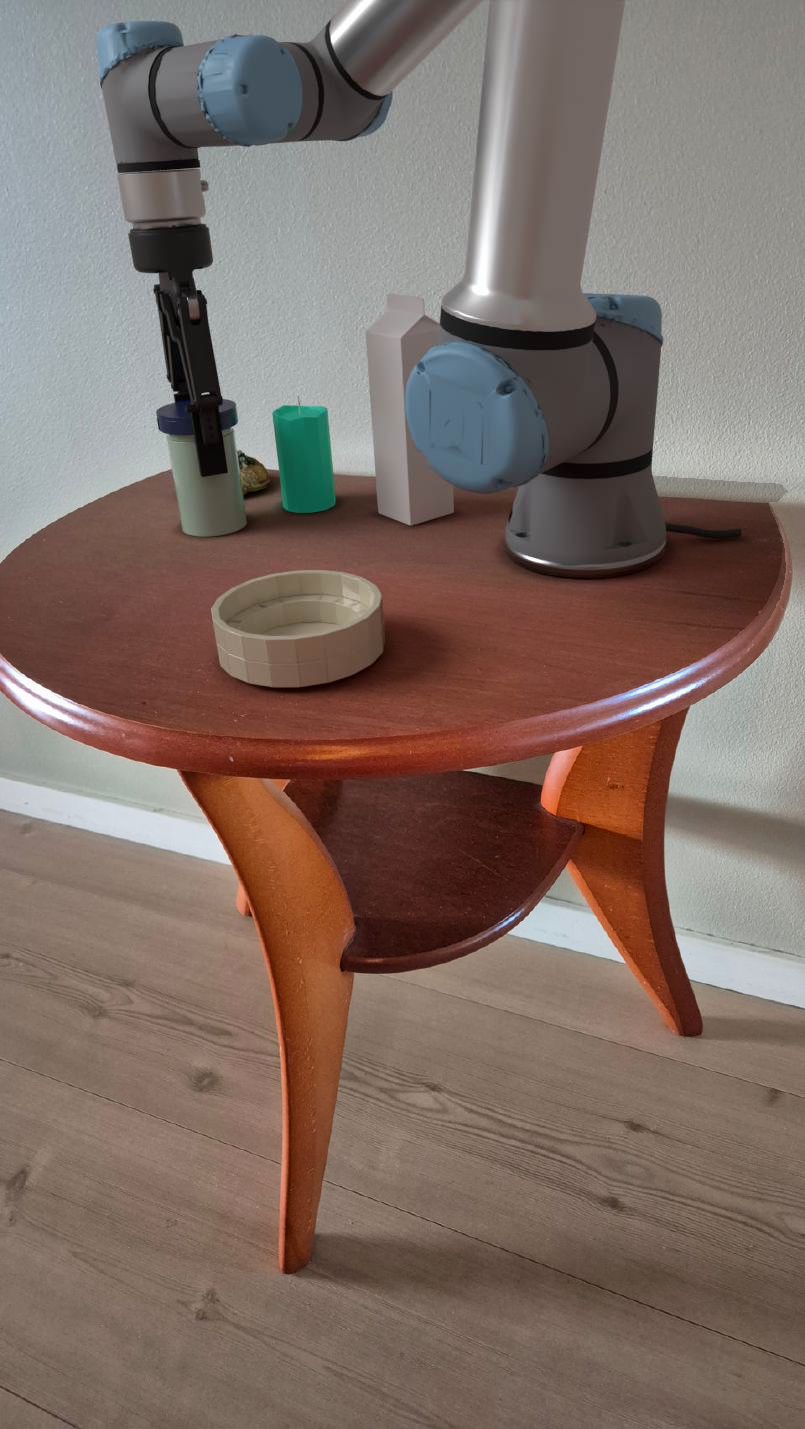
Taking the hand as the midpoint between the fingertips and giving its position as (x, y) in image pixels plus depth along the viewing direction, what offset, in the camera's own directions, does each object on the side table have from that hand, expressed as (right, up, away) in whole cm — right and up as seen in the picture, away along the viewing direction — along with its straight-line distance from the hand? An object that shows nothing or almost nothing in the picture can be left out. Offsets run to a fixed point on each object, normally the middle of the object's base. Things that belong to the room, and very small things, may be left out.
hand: (205, 463), depth 104 cm
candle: (+10, -3, +8) cm, 13 cm away
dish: (+13, -22, -25) cm, 35 cm away
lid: (0, +5, -3) cm, 5 cm away
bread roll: (-1, +1, +15) cm, 15 cm away
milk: (+22, -5, +3) cm, 23 cm away
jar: (0, -6, +3) cm, 7 cm away
